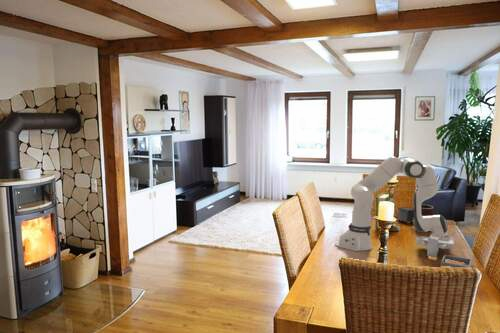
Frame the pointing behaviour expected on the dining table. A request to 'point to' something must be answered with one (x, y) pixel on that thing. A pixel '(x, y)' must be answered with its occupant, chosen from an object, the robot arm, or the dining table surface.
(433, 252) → the metal block
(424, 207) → the mate gourd
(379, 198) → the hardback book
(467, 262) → the tray
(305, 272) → the dining table surface
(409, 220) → the small box
